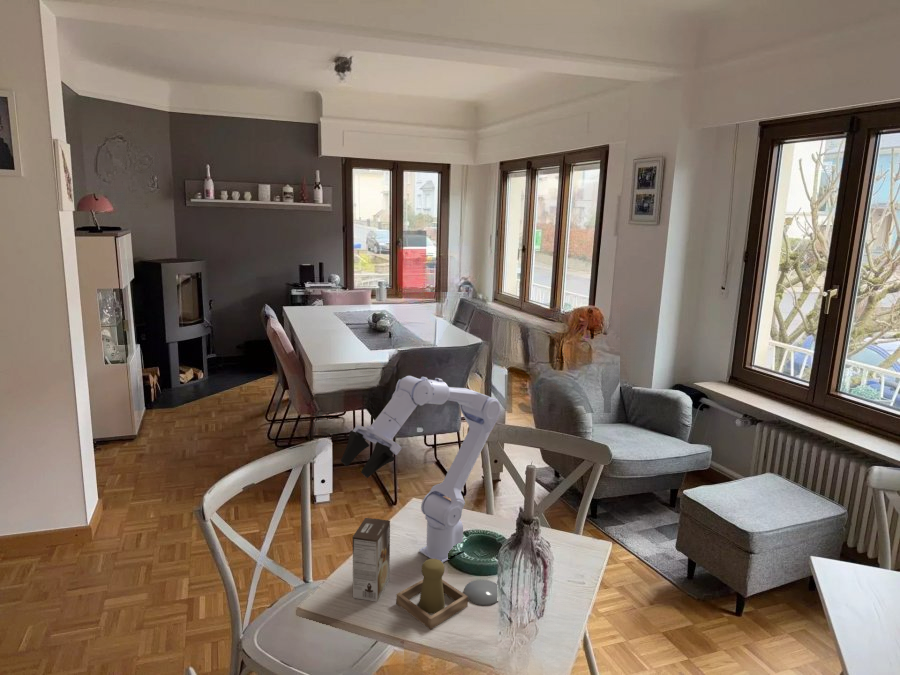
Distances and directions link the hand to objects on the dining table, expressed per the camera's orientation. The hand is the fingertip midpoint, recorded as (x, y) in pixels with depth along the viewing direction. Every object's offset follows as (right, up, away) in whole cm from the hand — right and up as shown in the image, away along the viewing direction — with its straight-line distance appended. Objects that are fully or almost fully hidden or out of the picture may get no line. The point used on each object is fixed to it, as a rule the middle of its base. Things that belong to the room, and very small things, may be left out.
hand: (353, 469), depth 136 cm
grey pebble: (+29, -32, +11) cm, 44 cm away
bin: (+17, -32, +6) cm, 37 cm away
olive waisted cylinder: (+17, -33, +6) cm, 37 cm away
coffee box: (+2, -31, +11) cm, 33 cm away
